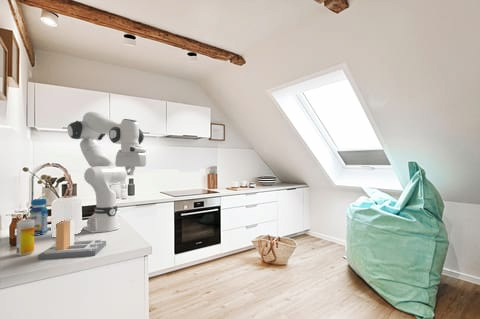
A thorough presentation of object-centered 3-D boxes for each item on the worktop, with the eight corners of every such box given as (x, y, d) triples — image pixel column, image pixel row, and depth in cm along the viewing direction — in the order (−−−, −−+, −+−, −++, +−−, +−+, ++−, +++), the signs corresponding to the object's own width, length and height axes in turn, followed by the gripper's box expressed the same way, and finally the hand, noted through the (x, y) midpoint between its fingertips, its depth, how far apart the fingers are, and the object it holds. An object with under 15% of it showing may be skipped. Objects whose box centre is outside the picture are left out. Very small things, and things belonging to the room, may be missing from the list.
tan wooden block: (68, 247, 115) (68, 221, 115) (63, 250, 110) (63, 223, 111) (61, 248, 114) (61, 221, 115) (56, 251, 110) (56, 223, 110)
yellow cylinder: (37, 252, 116) (37, 219, 116) (23, 256, 110) (23, 222, 110) (27, 251, 117) (27, 218, 118) (12, 255, 112) (13, 221, 112)
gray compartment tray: (106, 244, 126) (106, 216, 126) (95, 255, 111) (95, 223, 111) (56, 248, 121) (56, 218, 122) (38, 259, 107) (38, 226, 107)
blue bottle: (50, 233, 147) (50, 199, 148) (32, 237, 140) (32, 201, 141) (44, 231, 152) (44, 198, 153) (26, 234, 145) (27, 199, 146)
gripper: (112, 149, 137) (112, 175, 137) (138, 148, 127) (138, 175, 127) (122, 150, 143) (122, 174, 142) (148, 149, 133) (148, 175, 133)
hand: (130, 175), depth 135 cm, fingers closed
